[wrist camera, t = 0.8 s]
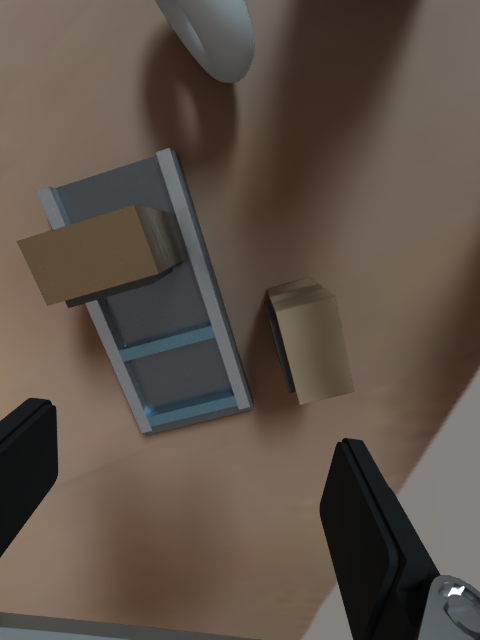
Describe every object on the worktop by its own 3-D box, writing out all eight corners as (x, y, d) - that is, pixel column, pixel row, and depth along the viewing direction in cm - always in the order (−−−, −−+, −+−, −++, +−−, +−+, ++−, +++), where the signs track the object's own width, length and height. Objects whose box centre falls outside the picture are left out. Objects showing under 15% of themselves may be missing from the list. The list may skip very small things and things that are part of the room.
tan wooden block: (279, 360, 34) (292, 406, 25) (260, 290, 31) (267, 314, 23) (325, 349, 33) (354, 391, 25) (309, 277, 31) (335, 296, 22)
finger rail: (178, 154, 28) (141, 112, 18) (253, 401, 35) (258, 472, 25) (51, 194, 29) (-51, 177, 19) (150, 426, 36) (114, 504, 26)
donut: (147, 6, 25) (87, -133, 15) (177, -31, 24) (135, -200, 15) (230, 113, 27) (224, 51, 17) (260, 82, 26) (271, 0, 17)
